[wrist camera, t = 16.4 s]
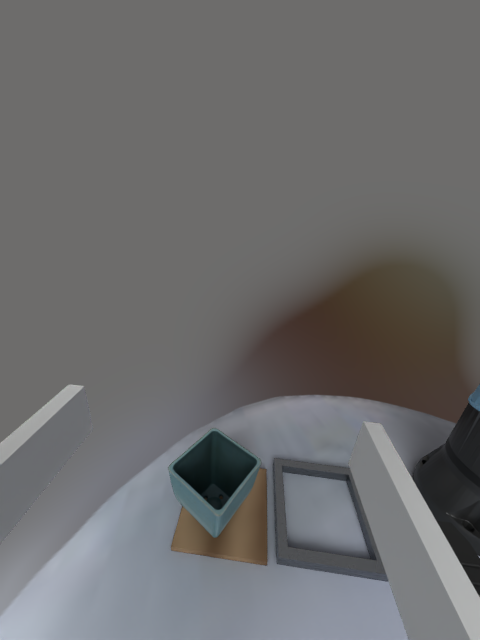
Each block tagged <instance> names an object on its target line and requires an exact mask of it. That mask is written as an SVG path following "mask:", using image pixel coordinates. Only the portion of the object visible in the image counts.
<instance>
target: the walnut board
mask: <svg viewBox="0 0 480 640" xmlns="http://www.w3.org/2000/svg"><path fill="white" fill-rule="evenodd" d="M219 498H220V499H223V497H222V496H220V497H219ZM204 499H205V500H207V498H204ZM171 550H172V551H178V552H184V553H191V554H197V555H203V556H210V557H216V558H222V559H229V560H235V561H241V562H248V563H254V564H260V565H267V478H266V469H261V468H259V471H258V474H257V477H256V480H255V483H254V485H253V488H252V490H251V491H250V493H249V494H248V496H247V497H246V499H245V500H244V501H243V503H242V504H241V505H240V507H239V508H238V509H237V511H236V512H235V514H234V515H233V516H232V518H231V519H230V521H229V522H228V523H227V525H226V526H225V528H224V529H223V530H222V532H221V533H220V535H219V536H218V537H216V538H214V537H213V536H212V535H211V534H210V533H209V532H208V531H207V530H206V529H205V528H204V527H203V526H202V525H201V524H200V523H199V522H198V521H197V520H196V519H195V518H194V517H193V516H192V515H191V514H190V513H189V512H188V511H187V510H186V509H185V508H184V507H183V506H182V510H181V513H180V517H179V520H178V524H177V527H176V531H175V534H174V538H173V541H172V545H171Z"/></svg>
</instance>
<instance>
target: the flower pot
mask: <svg viewBox="0 0 480 640" xmlns="http://www.w3.org/2000/svg"><path fill="white" fill-rule="evenodd" d="M260 465H261V459H260V458H258V457H257V456H255V455H254V454H252V453H251V452H250V451H248V450H247V449H245V448H244V447H242V446H241V445H239V444H238V443H236V442H235V441H233V440H232V439H231V438H229V437H228V436H226V435H225V434H224V433H222V432H221V431H220V430H218V429H216V428H212V429H211V430H209V431H208V432H207V433H206V434H205V435H204V436H203V437H202V438H200V439H199V440H198V441H197V442H196V443H195V444H193V445H192V446H191V447H190V448H189V449H188V450H187V451H185V452H184V453H183V454H182V455H181V456H180V457H178V458H177V459H176V460H175V461H174V462H172V463H171V464H170V465H169V467H168V470H169V474H170V479H171V483H172V487H173V491H174V494H175V496H176V498H177V500H178V501H179V502H180V503H181V505H182V506H183V507H184V508H185V509H186V510H187V511H188V512H189V513H190V514H191V515H192V516H193V517H194V518H195V519H196V520H197V521H198V522H199V523H200V524H201V525H202V526H203V527H204V528H205V529H206V530H207V531H208V532H209V533H210V534H211V535H212V536H213V537H214V538H216V537H218V536H219V535H220V533H221V532H222V530H223V529H224V528H225V526H226V525H227V523H228V522H229V521H230V519H231V518H232V516H233V515H234V514H235V512H236V511H237V509H238V508H239V507H240V505H241V504H242V503H243V501H244V500H245V499H246V497H247V496H248V494H249V493H250V491H251V490H252V488H253V485H254V483H255V480H256V477H257V474H258V471H259V468H260ZM220 496H222V497H223V499H220V498H219V497H220ZM204 498H207V500H205V499H204Z"/></svg>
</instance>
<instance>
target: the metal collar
mask: <svg viewBox="0 0 480 640" xmlns="http://www.w3.org/2000/svg"><path fill="white" fill-rule="evenodd" d="M273 472H274V498H275V523H276V549H277V564H280V565H286V566H293V567H299V568H305V569H312V570H318V571H324V572H331V573H337V574H343V575H350V576H356V577H363V578H369V579H375V580H382V581H388V578H387V575H386V572H385V569H384V566H383V563H382V560H381V557H380V554H379V552H378V549H377V546H376V543H375V540H374V537H373V534H372V531H371V528H370V525H369V522H368V520H367V517H366V514H365V511H364V508H363V505H362V502H361V499H360V496H359V493H358V490H357V487H356V485H355V482H354V479H353V476H352V473H351V470H350V468H343V467H336V466H328V465H321V464H314V463H306V462H299V461H291V460H284V459H277V458H274V463H273ZM282 472H286V473H293V474H301V475H308V476H315V477H322V478H330V479H337V480H344V481H347V484H348V487H349V490H350V494H351V497H352V500H353V503H354V506H355V509H356V513H357V516H358V519H359V522H360V525H361V529H362V532H363V535H364V538H365V541H366V544H367V548H368V551H369V554H370V557H371V560H370V559H364V558H357V557H351V556H344V555H338V554H331V553H325V552H318V551H312V550H305V549H299V548H292V547H288V543H287V529H286V516H285V502H284V488H283V475H282Z"/></svg>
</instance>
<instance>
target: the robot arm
mask: <svg viewBox="0 0 480 640" xmlns="http://www.w3.org/2000/svg"><path fill="white" fill-rule="evenodd" d="M468 400H469V403H468V405H467V407H466V408H465V410H464V412H463V414H462V415H461V417H460V419H459V420H458V422H457V424H456V426H455V427H454V429H453V431H452V432H451V434H450V436H449V438H448V440H447V441H446V443H445V444H444V445H442V446H440V447H439V448H437V449H436V450H434V451H432V452H431V453H429V454H428V455H426V456H424V457H423V458H422V459H421V460H420V461H419V463H418V465H417V466H416V468H415V470H414V473H413V479H412V477H411V476H410V474H409V472H408V470H407V469H406V467H405V465H404V463H403V462H402V460H401V458H400V456H399V455H398V453H397V451H396V449H395V448H394V446H393V444H392V442H391V440H390V439H389V437H388V435H387V433H386V432H385V430H384V428H383V426H382V425H381V423H373V422H365V421H363V424H362V427H361V430H360V432H359V435H358V438H357V441H356V443H355V446H354V449H353V452H352V455H351V457H350V460H349V463H348V464H349V467H350V470H351V473H352V476H353V479H354V482H355V485H356V487H357V490H358V493H359V496H360V499H361V502H362V505H363V508H364V511H365V514H366V517H367V520H368V522H369V525H370V528H371V531H372V534H373V537H374V540H375V543H376V546H377V549H378V552H379V554H380V557H381V560H382V563H383V566H384V569H385V572H386V575H387V578H388V581H389V584H390V586H391V589H392V592H393V595H394V598H395V601H396V604H397V607H398V610H399V613H400V616H401V618H402V621H403V624H404V627H405V630H406V633H407V636H408V639H409V640H480V558H479V557H478V555H479V556H480V384H479V386H478V387H477V389H476V390H475V392H473V393H472V394H471V395H470V396H469V399H468ZM92 430H93V426H92V421H91V416H90V411H89V407H88V402H87V397H86V392H85V387H84V386H77V385H68V386H67V387H65V388H64V389H63V390H62V391H61V392H60V393H59V394H57V395H56V396H55V397H54V398H53V399H51V400H50V401H49V402H48V403H47V404H46V405H44V406H43V407H42V408H41V409H40V410H39V411H37V412H36V413H35V414H34V415H33V416H32V417H30V418H29V419H28V420H27V421H26V422H25V423H23V424H22V425H21V426H20V427H19V428H18V429H16V430H15V431H14V432H13V433H12V434H11V435H10V436H9V437H7V438H6V439H5V440H4V441H2V442H1V443H0V544H1V543H2V541H3V540H4V539H5V538H6V537H7V536H8V534H9V533H10V532H11V530H12V529H13V528H14V527H15V526H16V524H17V523H18V522H19V521H20V519H21V518H22V517H23V516H24V514H25V513H26V512H27V511H28V510H29V508H30V507H31V506H32V505H33V503H34V502H35V501H36V500H37V498H38V497H39V496H40V495H41V493H42V492H43V491H44V490H45V488H46V487H47V486H48V485H49V483H50V482H51V481H52V480H53V478H54V477H55V476H56V475H57V474H58V472H59V471H60V470H61V468H62V467H63V466H64V465H65V464H66V462H67V461H68V460H69V459H70V457H71V456H72V455H73V454H74V452H75V451H76V450H77V449H78V447H79V446H80V445H81V444H82V443H83V441H84V440H85V438H87V436H88V435H89V434H90V433H91V431H92Z"/></svg>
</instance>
